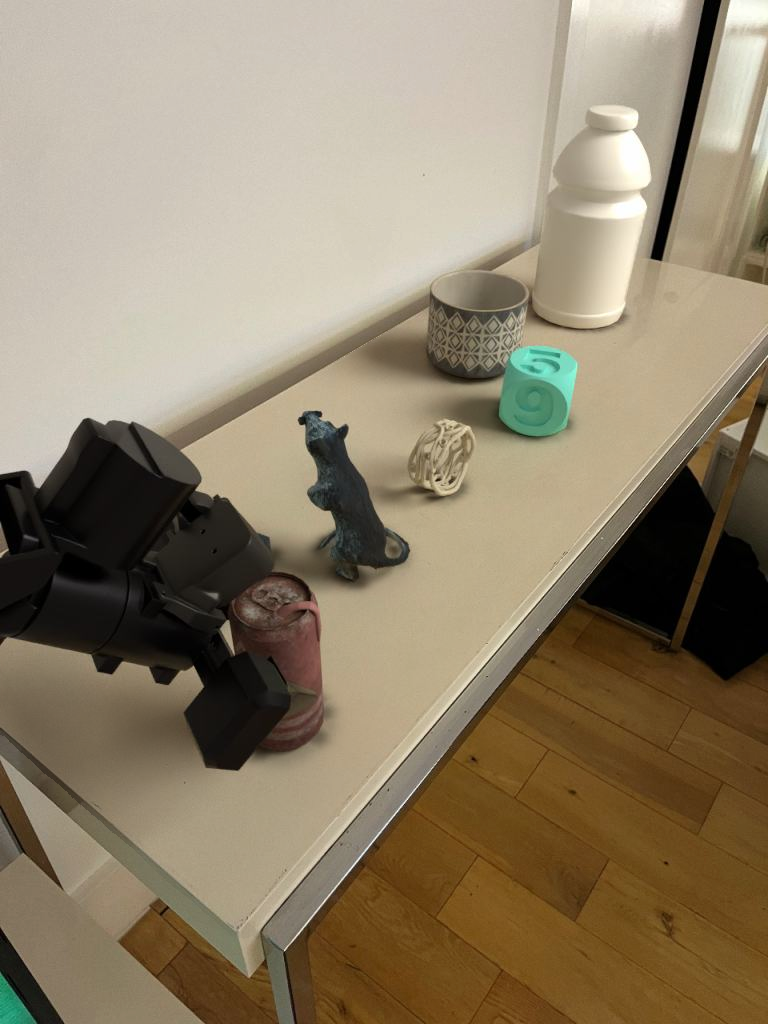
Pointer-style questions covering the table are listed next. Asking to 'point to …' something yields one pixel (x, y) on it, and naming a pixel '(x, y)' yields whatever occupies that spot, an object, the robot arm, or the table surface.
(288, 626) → the can
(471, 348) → the planter
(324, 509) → the sculpture
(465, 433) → the bracelet
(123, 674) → the table surface
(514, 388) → the decorative dice
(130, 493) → the robot arm
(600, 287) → the bottle
